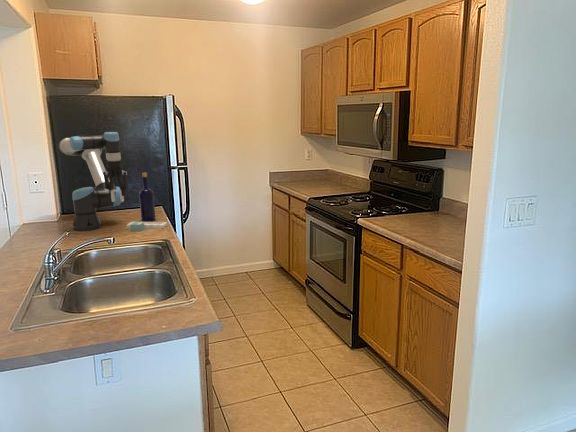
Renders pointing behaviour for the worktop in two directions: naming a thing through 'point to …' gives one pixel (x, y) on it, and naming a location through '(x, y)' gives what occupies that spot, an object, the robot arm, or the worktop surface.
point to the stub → (137, 226)
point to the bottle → (147, 202)
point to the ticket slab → (151, 225)
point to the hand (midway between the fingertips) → (117, 201)
